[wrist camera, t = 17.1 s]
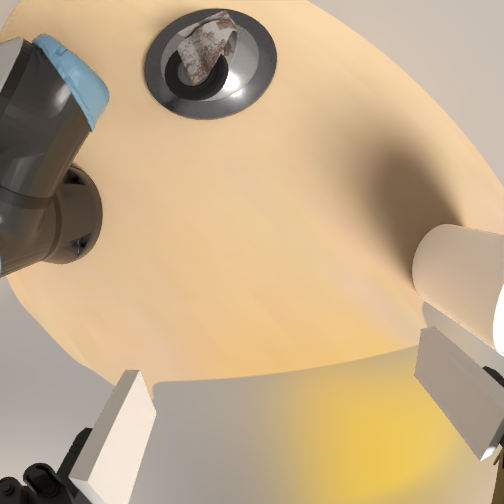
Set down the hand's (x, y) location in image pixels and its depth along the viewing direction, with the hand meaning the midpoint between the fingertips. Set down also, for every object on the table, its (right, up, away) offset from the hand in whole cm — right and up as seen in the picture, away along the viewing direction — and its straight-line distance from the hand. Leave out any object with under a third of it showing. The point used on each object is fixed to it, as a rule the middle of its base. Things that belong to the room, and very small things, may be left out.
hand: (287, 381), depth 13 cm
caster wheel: (-8, +31, +24) cm, 40 cm away
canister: (+30, +4, +30) cm, 43 cm away
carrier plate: (-8, +33, +25) cm, 42 cm away
